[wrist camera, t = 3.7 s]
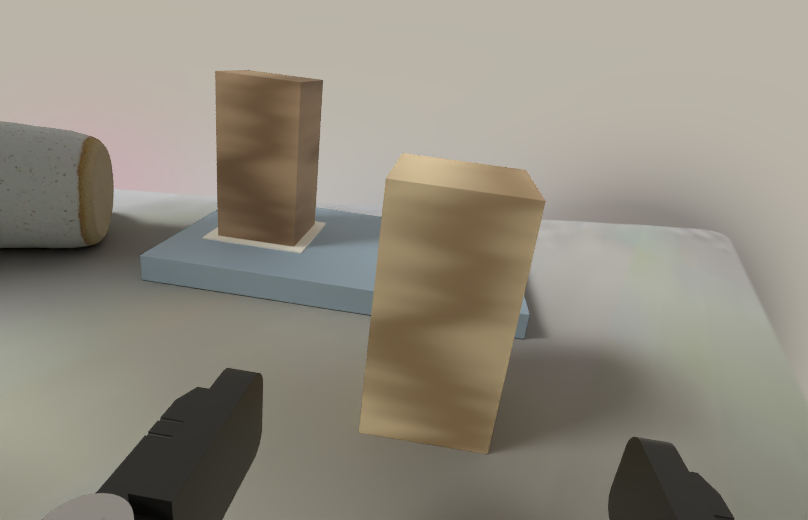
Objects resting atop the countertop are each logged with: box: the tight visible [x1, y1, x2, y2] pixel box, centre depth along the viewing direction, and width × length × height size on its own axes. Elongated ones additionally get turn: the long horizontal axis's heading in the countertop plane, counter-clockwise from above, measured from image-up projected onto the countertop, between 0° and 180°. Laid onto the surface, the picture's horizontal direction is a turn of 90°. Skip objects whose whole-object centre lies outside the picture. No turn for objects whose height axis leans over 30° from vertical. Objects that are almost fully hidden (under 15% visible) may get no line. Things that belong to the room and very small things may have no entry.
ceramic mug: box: [0, 122, 113, 248], centre depth 32 cm, size 11×8×8 cm
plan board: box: [140, 208, 530, 339], centre depth 35 cm, size 22×14×2 cm, turn 84°
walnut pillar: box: [215, 70, 323, 247], centre depth 33 cm, size 5×5×10 cm
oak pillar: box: [359, 153, 545, 454], centre depth 20 cm, size 5×5×10 cm
